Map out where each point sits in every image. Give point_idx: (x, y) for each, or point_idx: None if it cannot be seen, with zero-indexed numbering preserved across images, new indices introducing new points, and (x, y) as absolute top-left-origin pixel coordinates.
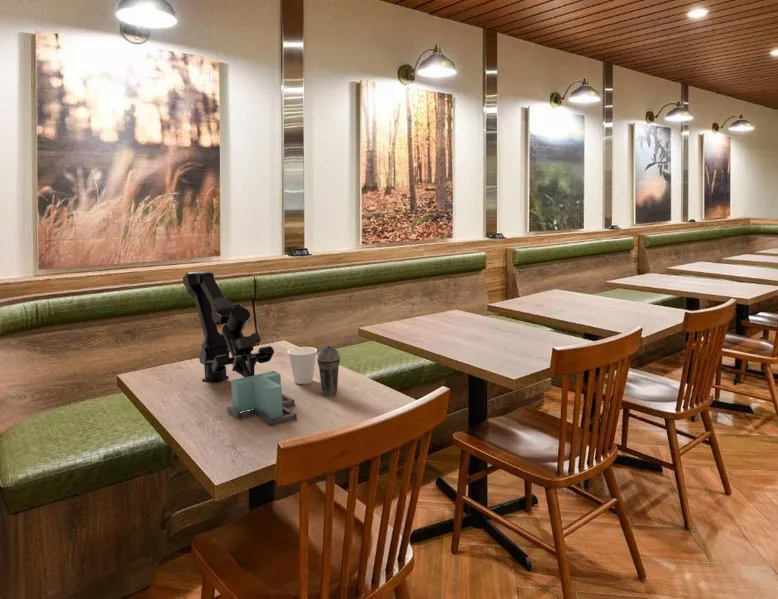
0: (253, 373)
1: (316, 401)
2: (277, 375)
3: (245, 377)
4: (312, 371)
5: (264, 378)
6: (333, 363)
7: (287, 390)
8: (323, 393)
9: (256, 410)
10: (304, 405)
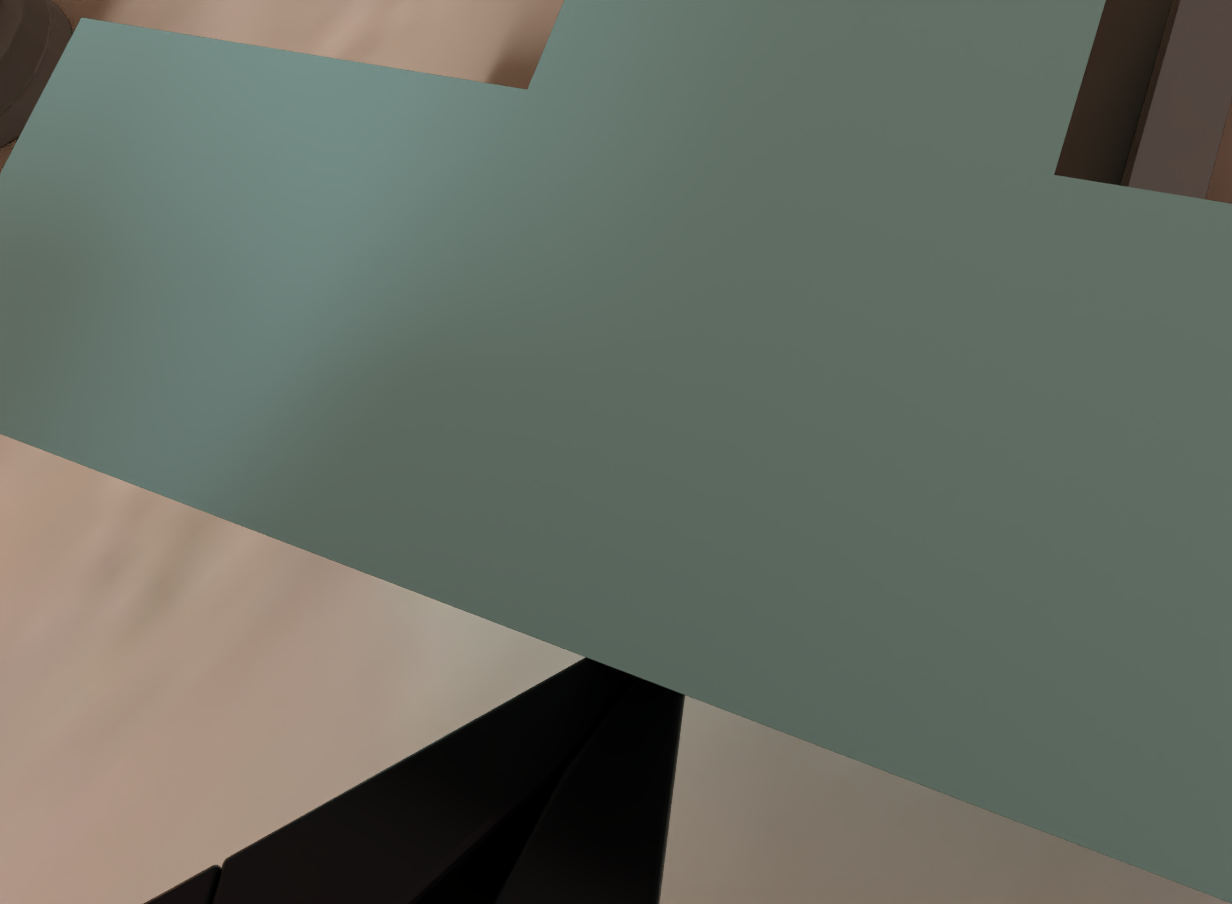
0: (399, 799)
1: (239, 20)
2: (171, 49)
3: (986, 767)
4: None
5: (630, 19)
6: None
7: (9, 671)
8: (32, 57)
9: (1176, 181)
10: (415, 23)
